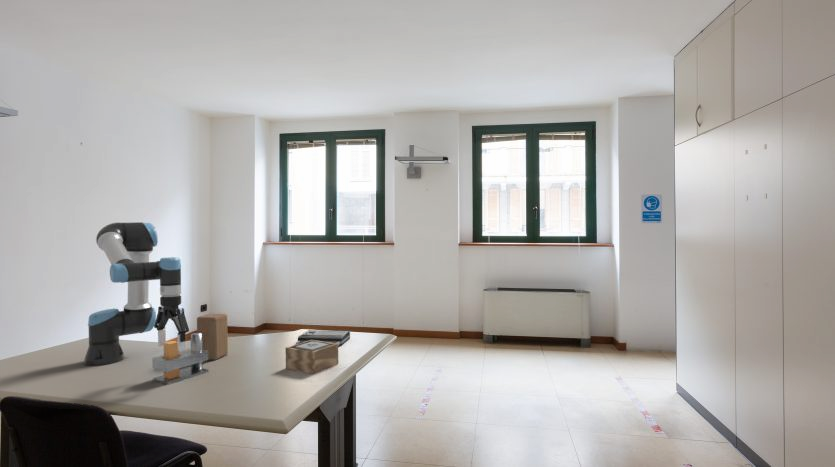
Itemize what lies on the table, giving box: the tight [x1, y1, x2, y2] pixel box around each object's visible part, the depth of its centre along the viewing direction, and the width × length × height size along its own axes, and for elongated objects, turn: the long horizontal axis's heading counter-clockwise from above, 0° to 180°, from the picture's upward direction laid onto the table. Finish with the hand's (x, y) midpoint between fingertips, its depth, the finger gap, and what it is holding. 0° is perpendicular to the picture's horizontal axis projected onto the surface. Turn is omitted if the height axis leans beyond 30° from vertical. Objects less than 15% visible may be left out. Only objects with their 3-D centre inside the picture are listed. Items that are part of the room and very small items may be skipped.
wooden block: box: [196, 313, 229, 361], centre depth 215 cm, size 10×10×20 cm
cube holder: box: [285, 340, 339, 375], centre depth 200 cm, size 16×16×9 cm
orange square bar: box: [163, 340, 180, 379], centre depth 184 cm, size 4×4×14 cm
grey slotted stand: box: [151, 332, 209, 385], centre depth 188 cm, size 10×18×16 cm, turn 150°
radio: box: [295, 329, 351, 347], centre depth 242 cm, size 24×5×20 cm
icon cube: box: [296, 341, 329, 351], centre depth 197 cm, size 10×10×10 cm
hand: (171, 347), depth 184 cm, fingers open, 13 cm apart
